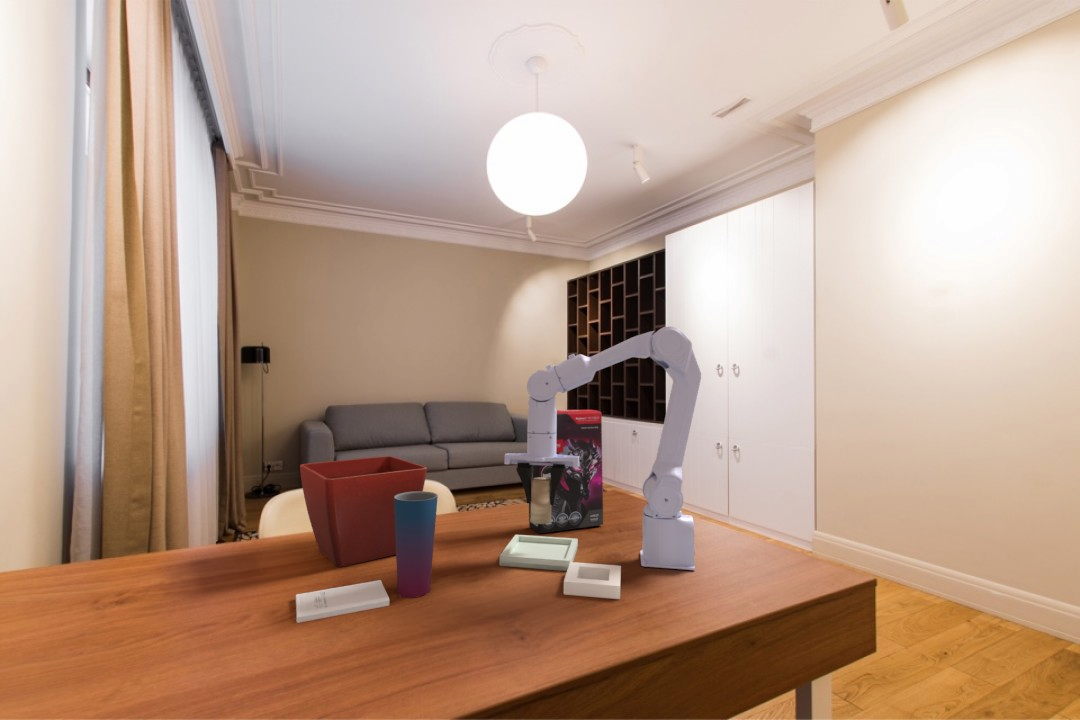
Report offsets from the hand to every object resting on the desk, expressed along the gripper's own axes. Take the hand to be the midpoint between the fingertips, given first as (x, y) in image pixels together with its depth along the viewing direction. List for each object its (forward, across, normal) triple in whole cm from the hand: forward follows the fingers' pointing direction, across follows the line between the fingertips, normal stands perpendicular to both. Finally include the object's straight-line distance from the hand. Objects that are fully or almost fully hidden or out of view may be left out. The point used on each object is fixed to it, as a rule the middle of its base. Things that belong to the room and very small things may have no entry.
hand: (541, 502), depth 96 cm
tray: (+10, 0, 0) cm, 10 cm away
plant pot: (+10, -35, -5) cm, 37 cm away
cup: (+10, -17, -20) cm, 28 cm away
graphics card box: (+10, +2, +21) cm, 23 cm away
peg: (+3, 0, 0) cm, 3 cm away
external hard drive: (+11, -26, -26) cm, 38 cm away
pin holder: (+10, +11, -12) cm, 19 cm away
